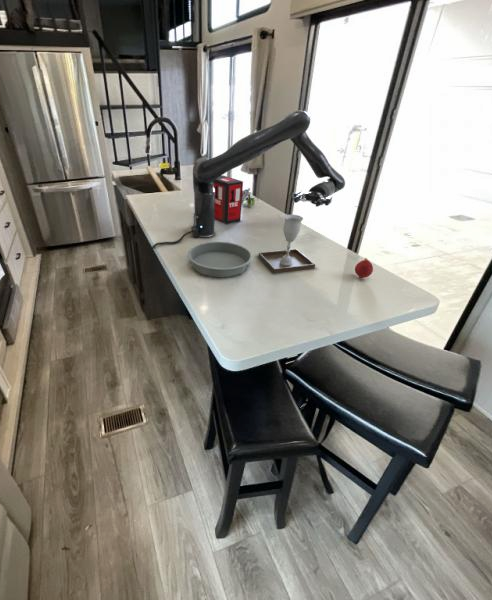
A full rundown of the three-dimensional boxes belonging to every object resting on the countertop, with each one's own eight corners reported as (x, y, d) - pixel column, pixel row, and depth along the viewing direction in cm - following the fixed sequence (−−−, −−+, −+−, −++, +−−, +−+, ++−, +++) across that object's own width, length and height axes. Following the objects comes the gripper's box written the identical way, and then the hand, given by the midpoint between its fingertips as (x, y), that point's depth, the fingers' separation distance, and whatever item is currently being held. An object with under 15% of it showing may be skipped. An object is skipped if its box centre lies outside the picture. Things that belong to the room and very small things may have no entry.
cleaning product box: (208, 215, 174) (209, 177, 163) (221, 212, 178) (223, 175, 167) (226, 224, 162) (228, 183, 151) (240, 221, 166) (243, 181, 156)
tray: (273, 273, 118) (274, 269, 117) (258, 256, 130) (258, 252, 129) (314, 268, 122) (315, 264, 121) (295, 252, 134) (296, 248, 133)
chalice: (275, 258, 128) (281, 214, 119) (291, 257, 129) (299, 214, 119) (280, 266, 122) (287, 221, 112) (297, 266, 123) (305, 220, 113)
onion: (369, 276, 117) (375, 256, 113) (370, 283, 113) (377, 263, 108) (352, 273, 119) (357, 253, 114) (352, 280, 114) (358, 260, 110)
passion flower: (239, 214, 193) (232, 195, 193) (254, 209, 196) (248, 190, 195) (245, 208, 182) (238, 188, 182) (261, 202, 185) (254, 183, 184)
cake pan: (206, 285, 110) (206, 274, 108) (178, 258, 128) (177, 247, 126) (264, 271, 120) (265, 260, 117) (230, 247, 138) (231, 237, 136)
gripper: (305, 181, 134) (290, 189, 123) (339, 186, 127) (326, 195, 116) (302, 199, 138) (287, 208, 127) (335, 205, 131) (322, 215, 120)
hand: (306, 202), depth 122 cm, fingers open, 8 cm apart
